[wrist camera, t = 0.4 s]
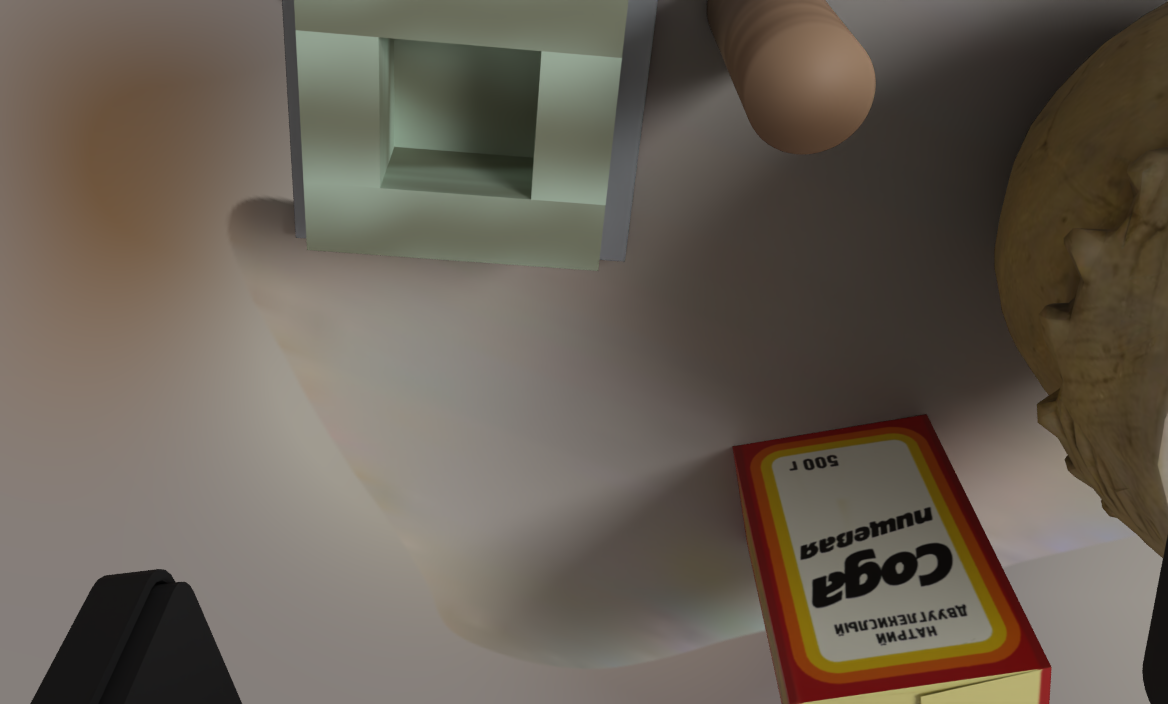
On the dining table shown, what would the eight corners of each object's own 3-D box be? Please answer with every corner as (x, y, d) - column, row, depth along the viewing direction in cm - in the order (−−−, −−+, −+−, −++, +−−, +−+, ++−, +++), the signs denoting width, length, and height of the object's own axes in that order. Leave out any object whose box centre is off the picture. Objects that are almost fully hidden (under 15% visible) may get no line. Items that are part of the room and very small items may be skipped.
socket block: (319, -85, 38) (291, -56, 34) (623, -57, 39) (631, -25, 35) (330, 196, 44) (307, 249, 40) (594, 216, 45) (598, 270, 41)
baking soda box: (747, 543, 56) (806, 818, 43) (732, 446, 53) (791, 712, 39) (929, 514, 55) (1048, 786, 42) (926, 414, 52) (1055, 675, 38)
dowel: (715, -53, 40) (757, 21, 32) (820, -43, 40) (889, 33, 32) (699, 53, 42) (734, 149, 34) (799, 61, 42) (859, 159, 34)
